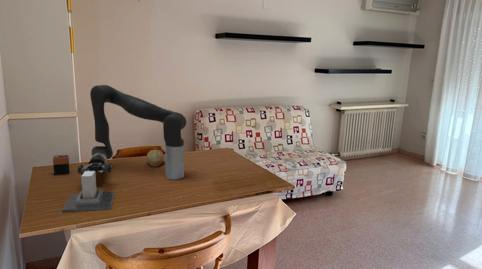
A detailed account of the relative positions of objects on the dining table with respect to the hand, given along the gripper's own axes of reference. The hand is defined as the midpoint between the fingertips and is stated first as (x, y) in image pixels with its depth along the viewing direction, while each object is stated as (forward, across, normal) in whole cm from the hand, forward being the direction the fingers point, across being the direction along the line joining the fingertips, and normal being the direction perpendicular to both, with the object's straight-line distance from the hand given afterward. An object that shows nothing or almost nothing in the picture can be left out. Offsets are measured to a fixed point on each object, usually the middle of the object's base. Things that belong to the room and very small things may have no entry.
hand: (93, 173), depth 154 cm
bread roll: (-38, +28, +9) cm, 48 cm away
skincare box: (+11, 0, +8) cm, 14 cm away
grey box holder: (+11, 0, +9) cm, 14 cm away
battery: (-27, -19, +9) cm, 34 cm away
